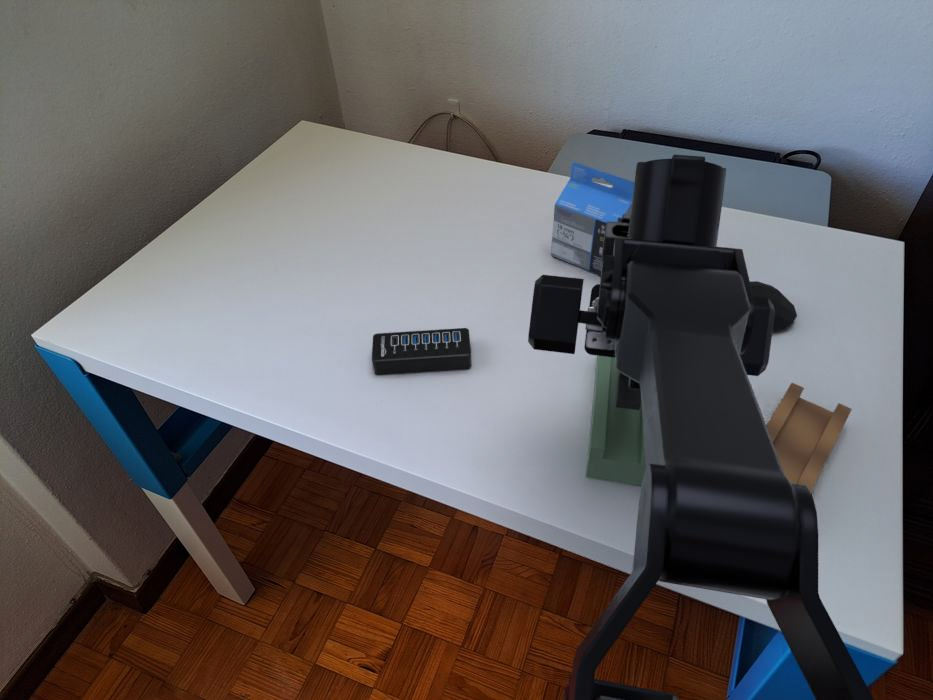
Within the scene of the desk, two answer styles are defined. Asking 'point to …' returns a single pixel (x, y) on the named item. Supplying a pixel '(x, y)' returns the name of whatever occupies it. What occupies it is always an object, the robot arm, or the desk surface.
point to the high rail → (614, 432)
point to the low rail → (804, 435)
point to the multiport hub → (421, 351)
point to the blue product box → (588, 215)
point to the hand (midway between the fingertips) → (637, 327)
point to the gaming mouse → (776, 304)
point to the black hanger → (627, 394)
